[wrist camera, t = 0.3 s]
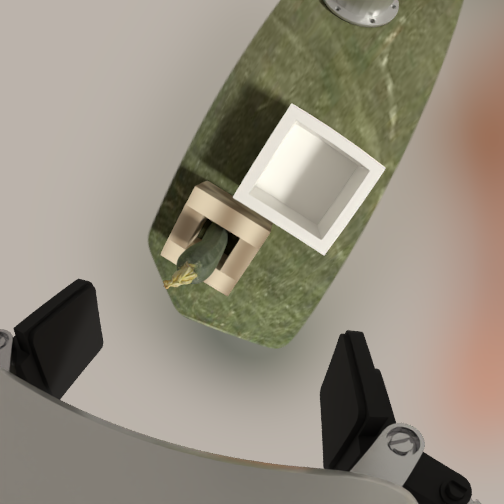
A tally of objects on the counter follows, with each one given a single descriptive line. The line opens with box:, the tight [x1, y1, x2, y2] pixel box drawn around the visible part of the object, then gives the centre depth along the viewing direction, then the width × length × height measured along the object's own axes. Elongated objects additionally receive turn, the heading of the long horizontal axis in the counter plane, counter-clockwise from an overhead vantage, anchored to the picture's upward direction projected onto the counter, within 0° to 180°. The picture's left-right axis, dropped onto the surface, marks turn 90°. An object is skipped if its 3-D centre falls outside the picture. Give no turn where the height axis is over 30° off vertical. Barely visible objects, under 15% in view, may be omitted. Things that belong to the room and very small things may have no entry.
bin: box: [233, 104, 386, 255], centre depth 39 cm, size 14×14×8 cm
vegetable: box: [163, 222, 228, 289], centre depth 39 cm, size 4×4×20 cm
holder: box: [160, 181, 273, 296], centre depth 45 cm, size 12×12×6 cm
